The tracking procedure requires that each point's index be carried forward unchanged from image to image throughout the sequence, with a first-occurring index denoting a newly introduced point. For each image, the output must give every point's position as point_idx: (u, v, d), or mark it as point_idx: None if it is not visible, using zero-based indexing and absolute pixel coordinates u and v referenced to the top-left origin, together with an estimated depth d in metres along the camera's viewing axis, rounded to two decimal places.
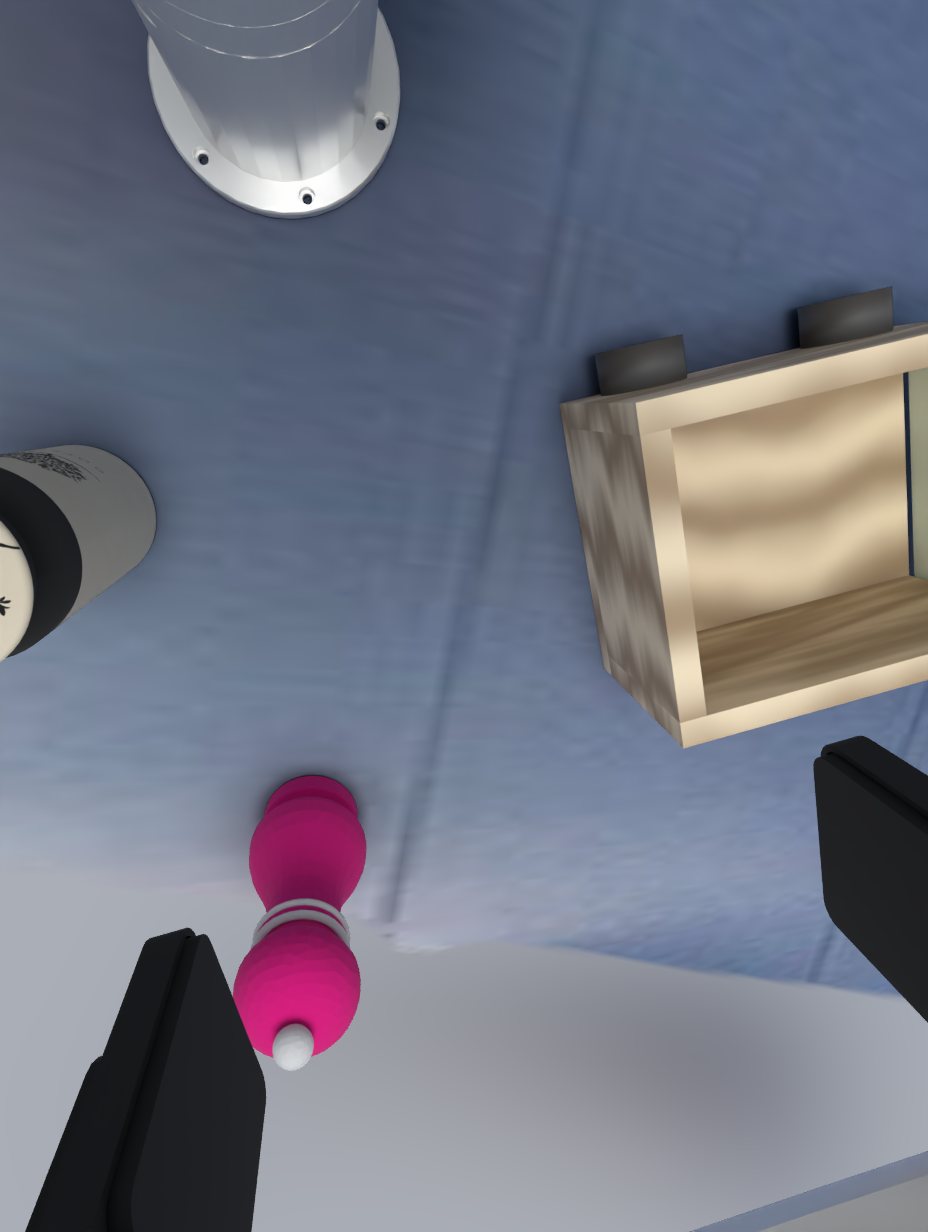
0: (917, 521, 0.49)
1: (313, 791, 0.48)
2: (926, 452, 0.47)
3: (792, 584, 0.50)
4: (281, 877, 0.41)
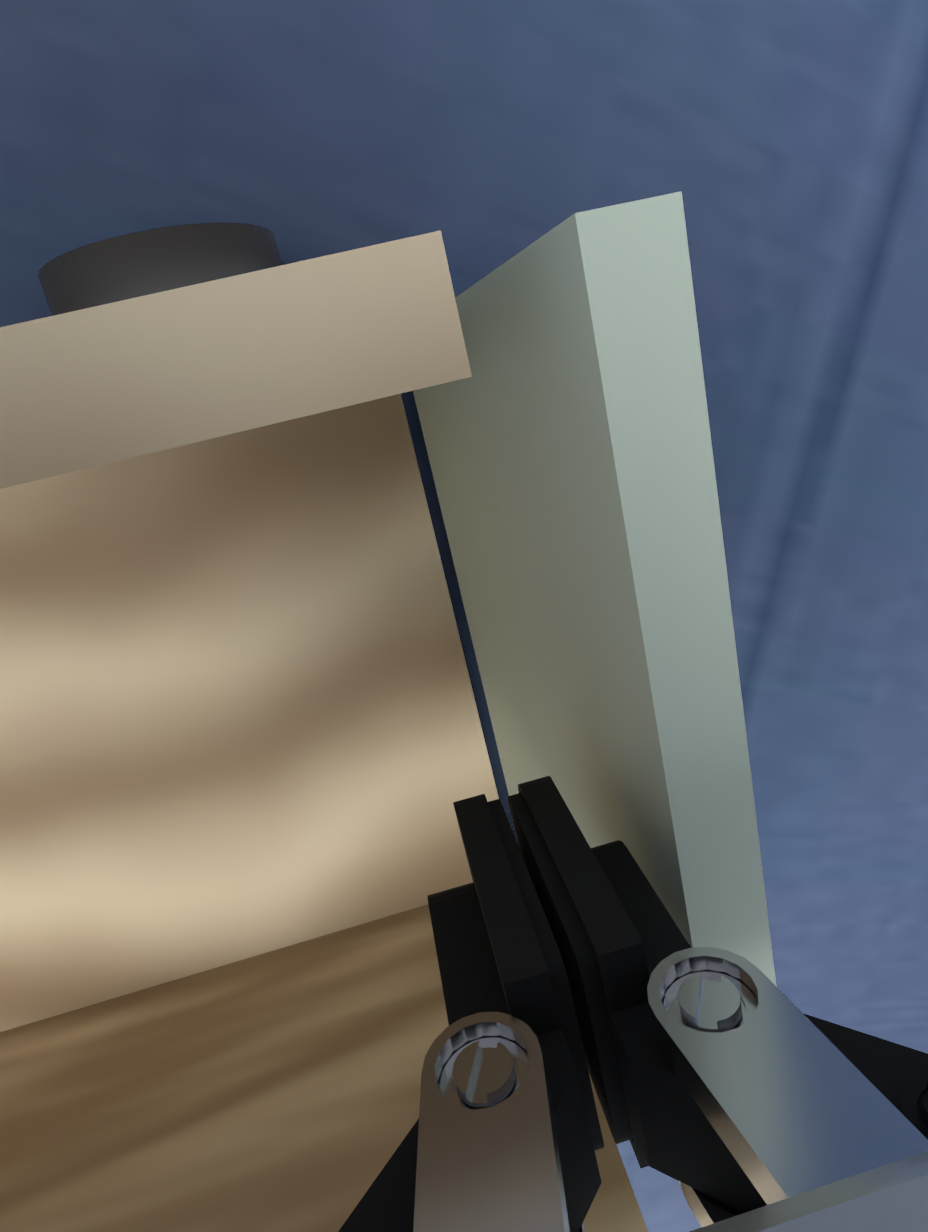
0: (507, 778, 0.21)
1: None
2: (481, 640, 0.19)
3: (233, 917, 0.22)
4: None
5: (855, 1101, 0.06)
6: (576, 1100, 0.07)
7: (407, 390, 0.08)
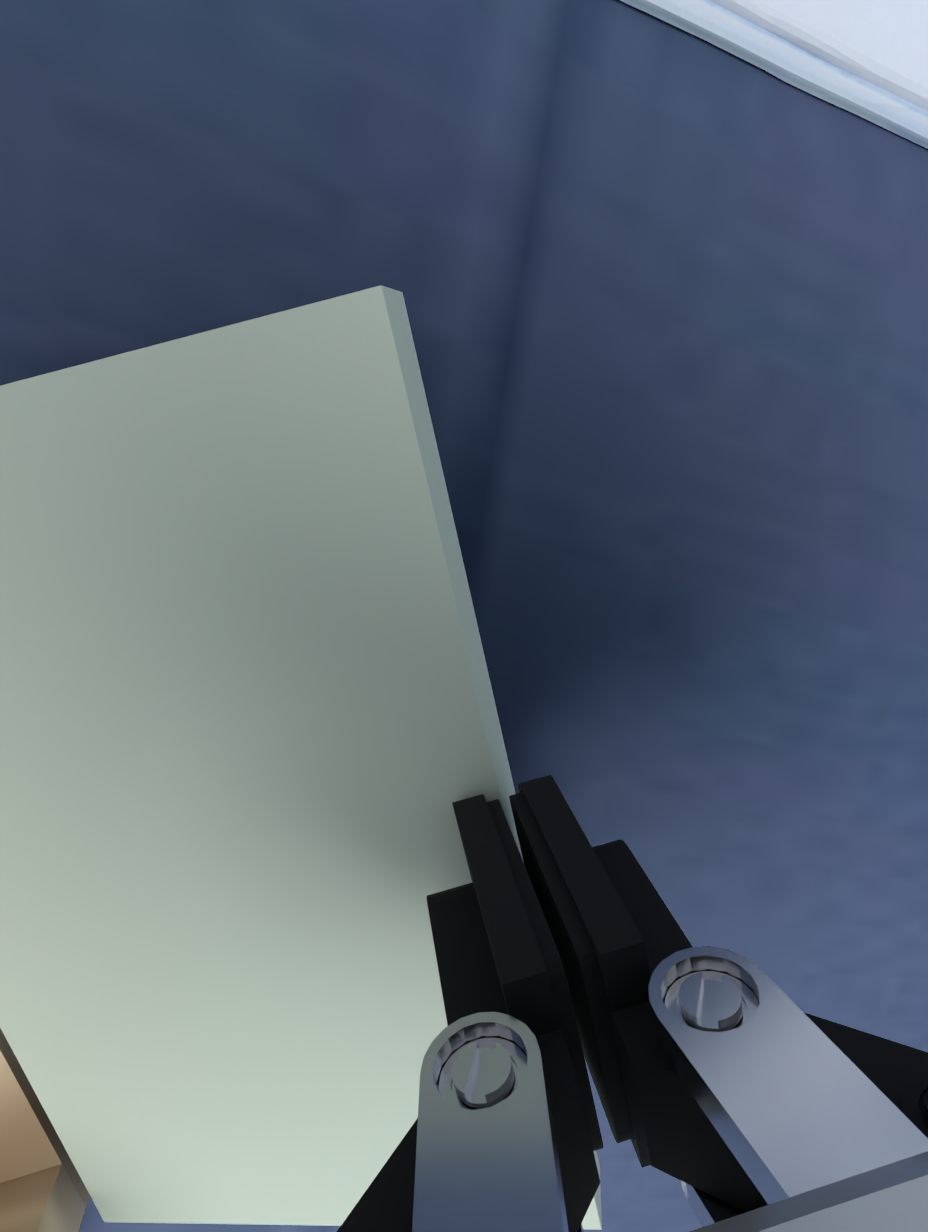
0: (33, 1054, 0.15)
1: None
2: None
3: None
4: None
5: (856, 1100, 0.06)
6: (574, 1100, 0.07)
7: None
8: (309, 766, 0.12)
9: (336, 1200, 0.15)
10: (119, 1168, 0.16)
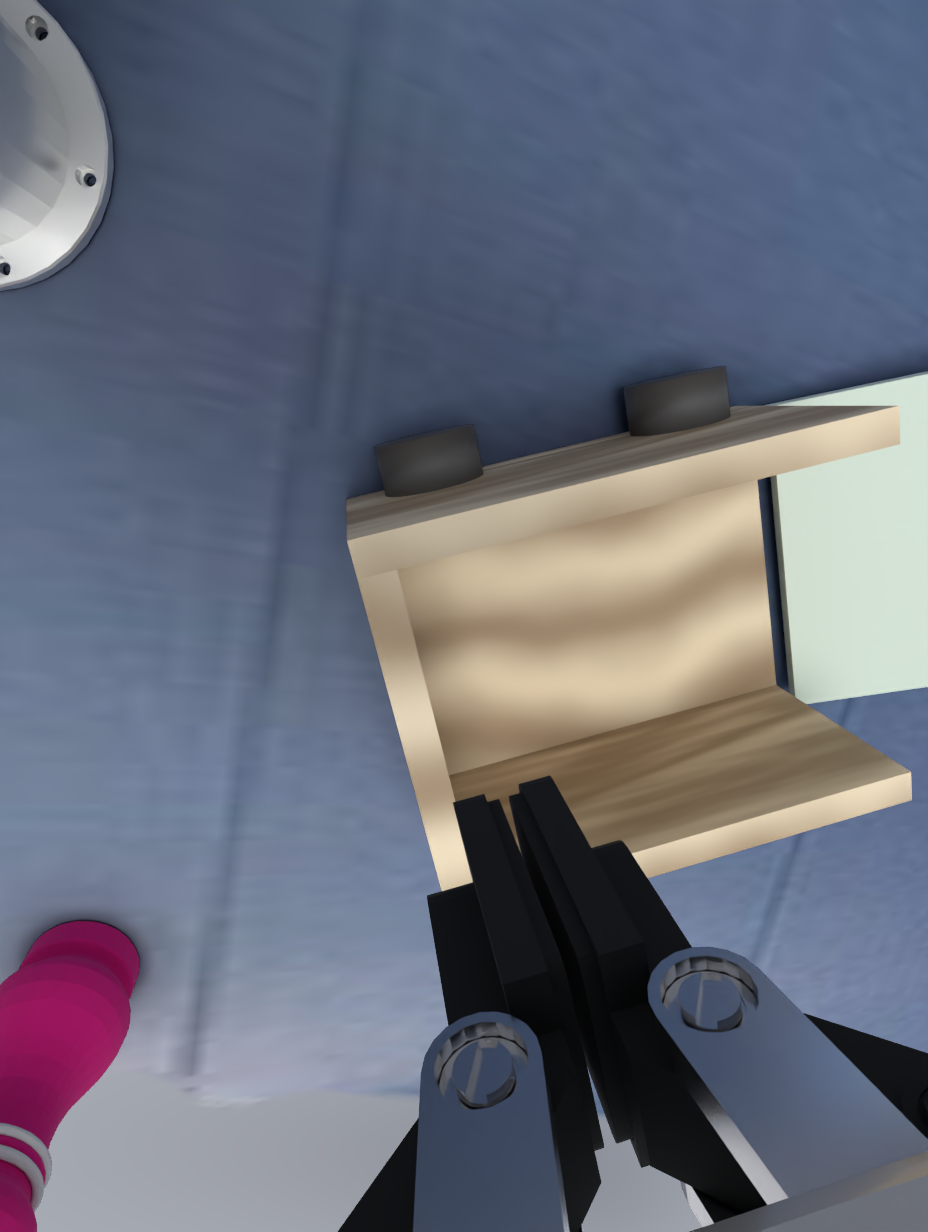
0: (797, 624, 0.42)
1: (73, 944, 0.41)
2: (808, 543, 0.41)
3: (637, 698, 0.43)
4: None
5: (855, 1101, 0.06)
6: (575, 1100, 0.07)
7: None
8: None
9: (902, 678, 0.43)
10: (813, 675, 0.43)
